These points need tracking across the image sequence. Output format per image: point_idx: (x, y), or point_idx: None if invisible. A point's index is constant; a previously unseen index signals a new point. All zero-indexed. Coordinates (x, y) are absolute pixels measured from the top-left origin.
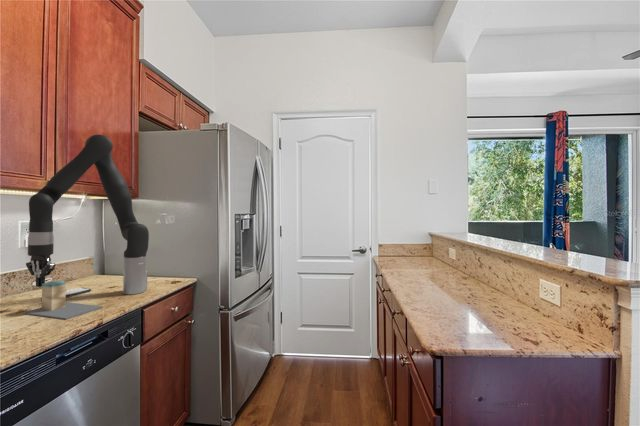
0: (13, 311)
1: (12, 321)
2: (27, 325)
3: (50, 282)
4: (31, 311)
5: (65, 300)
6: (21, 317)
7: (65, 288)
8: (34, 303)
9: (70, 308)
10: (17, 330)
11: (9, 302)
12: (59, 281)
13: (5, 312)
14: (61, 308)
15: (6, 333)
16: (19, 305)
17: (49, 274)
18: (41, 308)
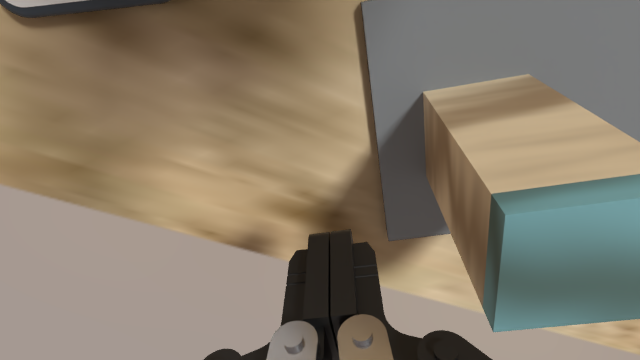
0: (289, 237)
1: (471, 292)
2: None
3: (527, 281)
4: (414, 217)
5: (554, 90)
6: (447, 259)
7: (635, 143)
8: (183, 116)
9: (616, 82)
10: (615, 321)
11: (24, 176)
12: (597, 218)
13: (274, 257)
14: None
15: (602, 342)
16: (164, 178)
17: (465, 343)
18: (405, 169)
